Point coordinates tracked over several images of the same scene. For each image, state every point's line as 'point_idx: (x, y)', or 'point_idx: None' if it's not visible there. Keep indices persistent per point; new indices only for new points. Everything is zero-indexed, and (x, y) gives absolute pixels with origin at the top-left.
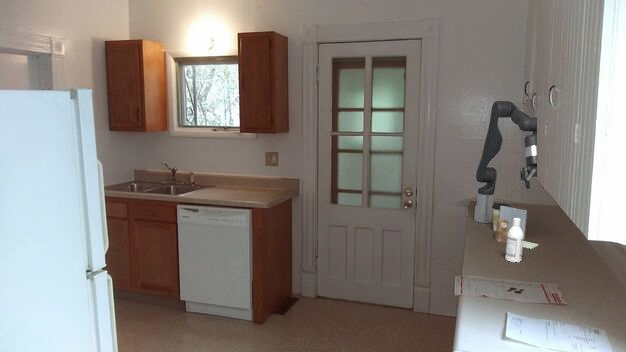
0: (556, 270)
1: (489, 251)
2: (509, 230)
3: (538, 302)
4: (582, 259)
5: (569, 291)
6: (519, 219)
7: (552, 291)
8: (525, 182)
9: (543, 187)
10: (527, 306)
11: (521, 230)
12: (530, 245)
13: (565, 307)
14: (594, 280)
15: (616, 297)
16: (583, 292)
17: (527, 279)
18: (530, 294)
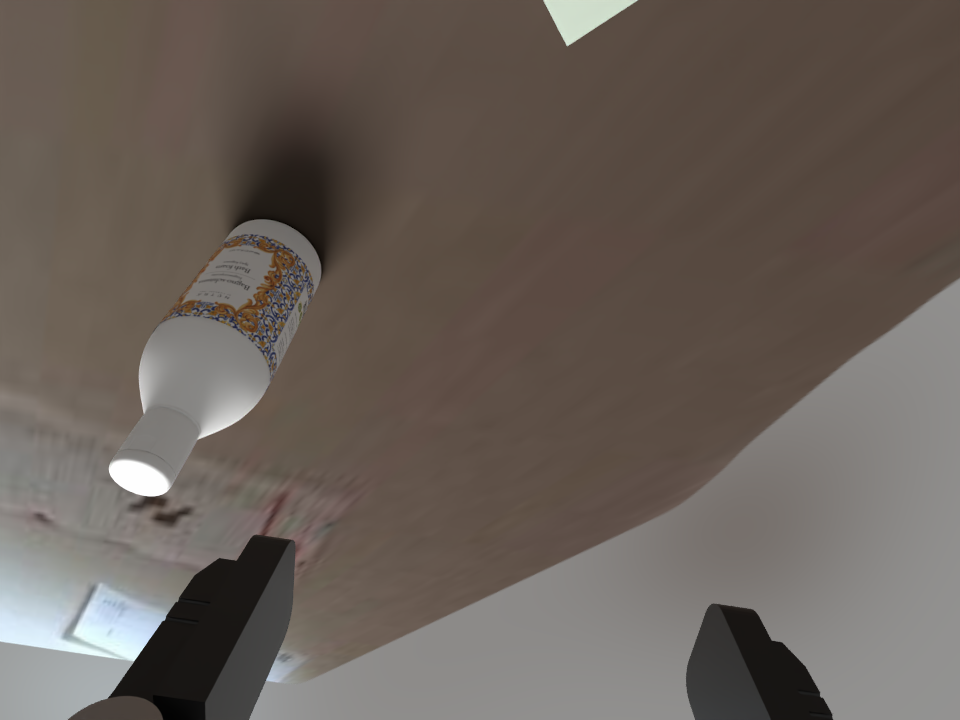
0: (443, 412)
1: (158, 50)
2: (139, 377)
3: None
4: (749, 316)
5: (354, 545)
6: (156, 495)
7: (292, 536)
8: (124, 695)
9: (727, 627)
10: (165, 577)
11: (223, 427)
12: None
13: None
14: (528, 508)
15: (481, 591)
16: (398, 557)
17: (245, 458)
18: (204, 536)
